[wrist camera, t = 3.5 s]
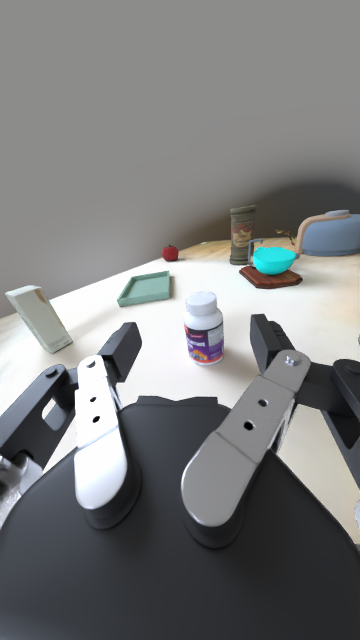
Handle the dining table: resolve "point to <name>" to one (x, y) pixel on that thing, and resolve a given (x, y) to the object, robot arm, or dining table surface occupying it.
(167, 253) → the tomato
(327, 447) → the dining table surface
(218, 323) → the pill bottle
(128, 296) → the tray
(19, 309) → the cosmetic box
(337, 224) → the alarm clock
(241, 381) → the dining table surface
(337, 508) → the dining table surface
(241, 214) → the container
